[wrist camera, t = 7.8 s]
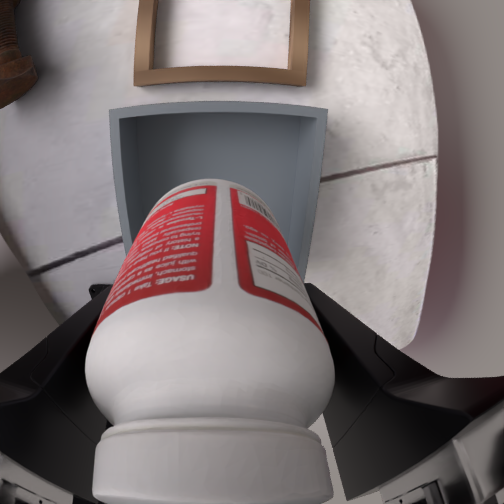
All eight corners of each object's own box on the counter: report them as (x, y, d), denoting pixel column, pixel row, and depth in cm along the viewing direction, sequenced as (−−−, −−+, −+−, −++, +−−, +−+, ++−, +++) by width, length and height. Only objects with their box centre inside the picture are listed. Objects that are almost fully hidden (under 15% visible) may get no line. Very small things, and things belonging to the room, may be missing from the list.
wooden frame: (300, 86, 16) (305, 85, 15) (138, 86, 15) (133, 86, 14) (305, -39, 11) (310, -45, 10) (151, -41, 10) (147, -47, 9)
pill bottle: (143, 281, 14) (92, 504, 4) (153, 163, 11) (-20, 429, 1) (259, 299, 15) (299, 515, 6) (295, 191, 12) (447, 447, 3)
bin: (291, 257, 23) (302, 286, 20) (145, 258, 22) (133, 288, 19) (308, 106, 17) (327, 108, 14) (130, 106, 16) (109, 109, 13)
